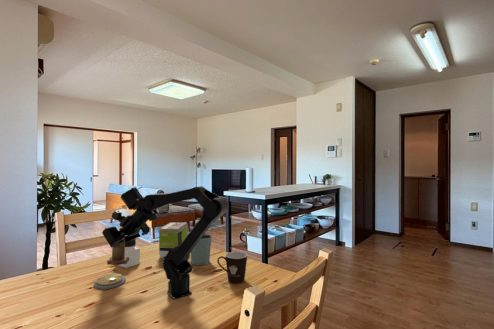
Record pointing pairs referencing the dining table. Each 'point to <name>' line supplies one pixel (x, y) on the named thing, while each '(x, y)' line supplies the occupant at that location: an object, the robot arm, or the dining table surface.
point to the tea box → (171, 237)
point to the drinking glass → (201, 251)
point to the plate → (109, 285)
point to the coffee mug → (235, 266)
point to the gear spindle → (118, 254)
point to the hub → (109, 279)
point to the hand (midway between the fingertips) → (115, 244)
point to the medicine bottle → (131, 254)
